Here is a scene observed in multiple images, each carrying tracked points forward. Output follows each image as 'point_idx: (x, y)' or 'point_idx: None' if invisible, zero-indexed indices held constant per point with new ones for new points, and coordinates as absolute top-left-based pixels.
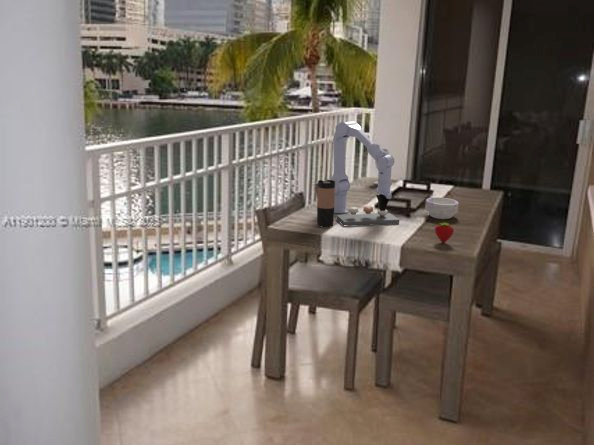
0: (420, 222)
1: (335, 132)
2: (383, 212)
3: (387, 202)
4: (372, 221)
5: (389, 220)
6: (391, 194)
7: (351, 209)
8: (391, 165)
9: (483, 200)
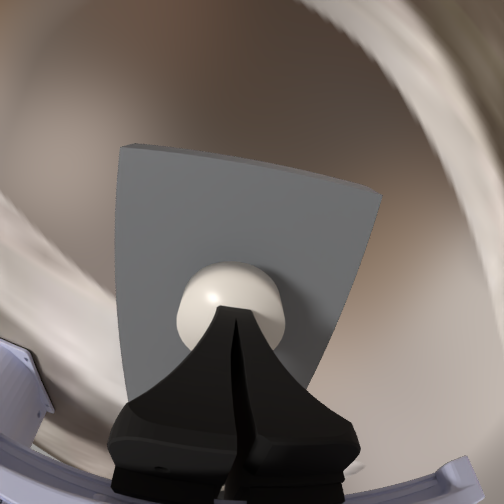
0: (387, 3)
1: None
2: (279, 334)
3: (294, 383)
4: (306, 384)
5: (351, 281)
6: (483, 497)
7: (222, 489)
8: None
9: None
